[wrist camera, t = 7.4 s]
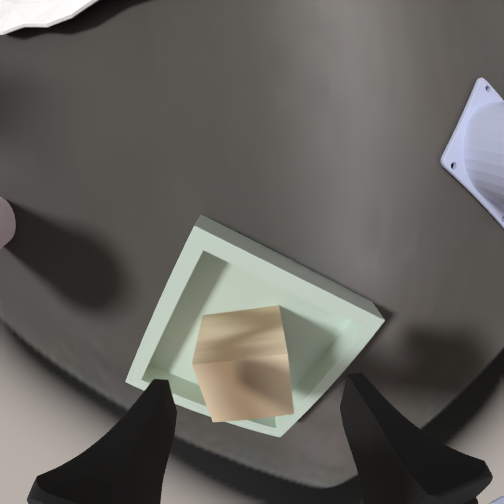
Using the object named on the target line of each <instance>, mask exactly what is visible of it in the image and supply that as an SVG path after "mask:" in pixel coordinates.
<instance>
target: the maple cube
mask: <svg viewBox="0 0 504 504" xmlns="http://www.w3.org/2000/svg"><path fill="white" fill-rule="evenodd" d="M192 366H193V369H194V372H195V375H196V378H197V381H198V384H199V386H200V389H201V392H202V395H203V397H204V400H205V403H206V405H207V408H208V411H209V413H210V416H211V419H212V421H213V422H225V421H238V420H250V419H259V418H268V417H276V416H284V415H291V414H294V408H293V398H292V389H291V379H290V370H289V361H288V352H287V347H286V341H285V336H284V330H283V325H282V319H281V314H280V308H279V305H276V306H269V307H262V308H255V309H247V310H240V311H232V312H224V313H216V314H207V315H202V320H201V324H200V329H199V333H198V338H197V342H196V347H195V352H194V356H193V361H192Z"/></svg>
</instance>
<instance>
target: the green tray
mask: <svg viewBox="0 0 504 504" xmlns="http://www.w3.org/2000/svg"><path fill="white" fill-rule="evenodd" d="M276 305H279V308H280V314H281V319H282V325H283V330H284V336H285V341H286V347H287V352H288V361H289V370H290V379H291V389H292V398H293V408H294V414H291V415H284V416H276V417H268V418H259V419H250V420H238V421H225V422H228V423H231V424H234V425H237V426H241V427H244V428H247V429H251V430H254V431H258V432H261V433H265V434H269V435H272V436H276V437H281V436H282V435H283V434H284V433H285V432H286V431H287V430H288V429H289V428H290V427H291V426H292V425H293V424H295V423H296V422H297V421H298V420H299V419H300V418H301V417H302V416H303V415H304V414H305V413H306V411H307V410H308V409H309V408H310V407H311V406H312V405H313V404H314V403H315V402H316V401H317V400H318V399H319V398H320V397H321V396H322V395H323V394H324V393H325V392H326V390H327V389H328V388H329V387H330V386H331V385H332V384H333V383H334V382H335V381H336V379H337V378H338V377H339V376H340V375H341V374H342V373H343V371H344V370H345V369H346V368H347V367H348V366H349V365H350V363H351V362H352V361H353V360H354V359H355V357H356V356H357V355H358V354H359V353H360V351H361V350H362V349H363V348H364V347H365V345H366V344H367V343H368V342H369V340H370V339H371V338H372V337H373V335H374V334H375V333H376V331H377V330H378V329H379V328H380V326H381V325H382V324H383V322H384V321H385V320H384V318H383V317H382V315H381V314H380V312H379V311H378V309H377V308H376V307H375V305H374V304H373V302H372V301H370V300H368V299H366V298H364V297H362V296H360V295H358V294H356V293H354V292H353V291H351V290H349V289H347V288H345V287H343V286H341V285H339V284H337V283H335V282H333V281H331V280H329V279H327V278H326V277H324V276H322V275H320V274H318V273H316V272H314V271H312V270H310V269H308V268H306V267H304V266H302V265H300V264H298V263H296V262H294V261H292V260H291V259H289V258H287V257H285V256H283V255H281V254H279V253H277V252H275V251H273V250H271V249H269V248H267V247H265V246H263V245H261V244H259V243H257V242H255V241H253V240H251V239H249V238H247V237H245V236H243V235H241V234H239V233H238V232H236V231H234V230H232V229H230V228H228V227H226V226H224V225H222V224H220V223H218V222H216V221H214V220H212V219H210V218H208V217H206V216H204V215H202V214H201V215H200V217H199V219H198V220H197V222H196V224H195V225H194V228H193V230H192V232H191V234H190V236H189V238H188V240H187V242H186V244H185V246H184V248H183V250H182V252H181V254H180V257H179V259H178V261H177V263H176V265H175V267H174V269H173V272H172V274H171V276H170V278H169V280H168V282H167V285H166V287H165V289H164V291H163V293H162V296H161V298H160V300H159V302H158V305H157V307H156V309H155V312H154V314H153V316H152V318H151V321H150V323H149V325H148V328H147V330H146V332H145V335H144V337H143V340H142V342H141V344H140V347H139V349H138V352H137V354H136V356H135V359H134V361H133V364H132V366H131V369H130V371H129V374H128V376H127V379H126V381H125V382H127V383H129V384H131V385H133V386H135V387H137V388H140V389H142V390H144V391H145V389H146V388H147V387H148V386H149V384H150V383H151V382H152V380H154V379H164V380H169V384H170V388H171V392H172V396H173V399H174V403H175V404H177V405H180V406H183V407H185V408H188V409H190V410H193V411H196V412H199V413H201V414H204V415H207V416H210V413H209V411H208V408H207V405H206V403H205V400H204V397H203V395H202V392H201V389H200V386H199V384H198V381H197V378H196V375H195V372H194V369H193V366H192V361H193V356H194V352H195V347H196V342H197V338H198V333H199V329H200V324H201V320H202V315H207V314H216V313H224V312H232V311H240V310H247V309H255V308H262V307H269V306H276ZM210 417H211V416H210Z"/></svg>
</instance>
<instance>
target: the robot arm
mask: <svg viewBox="0 0 504 504" xmlns="http://www.w3.org/2000/svg"><path fill="white" fill-rule="evenodd" d="M486 88H487V91H486ZM452 163H453V168H451V164H452ZM441 165H442V166H443V168H445V169H446V170H447V171H448V172H449V173H450V174H451V175H452V176H453V177H454V178H455V179H456V180H457V181H459V182H460V183H461V184H462V185H463V186H464V187H465V188H466V189H467V190H468V191H469V192H470V193H471V194H472V195H473V196H474V197H475V198H476V199H477V200H478V201H479V202H480V203H481V204H482V206H483V207H484V208H485V209H486V210H487V211H488V212H489V213H490V214H491V215H492V216H493V217H494V218H495V220H496V221H497V222H498V223H499V224H500V225H501V226H502V228H503V229H504V101H503V99H502V98H501V97H500V96H499V95H498V94H497V92H496V91H495V90H494V89H493V88H492V87H491V85H490V84H489V83H488V82H487V81H486V80H485V79H484V78H478V79H477V81H476V83H475V85H474V88H473V90H472V93H471V95H470V97H469V100H468V102H467V104H466V107H465V109H464V111H463V113H462V116H461V118H460V120H459V122H458V124H457V126H456V129H455V131H454V133H453V135H452V137H451V139H450V141H449V143H448V145H447V147H446V149H445V151H444V153H443V155H442V157H441ZM502 217H503V219H502ZM340 410H341V416H342V421H343V426H344V430H345V433H346V436H347V440H348V443H349V446H350V449H351V452H352V455H353V458H354V461H355V464H356V467H357V471H358V475H359V478H360V484H361V490H362V495H363V503H364V504H478V500H477V498H476V496H477V495H479V494H480V493H481V492H482V491H483V490H484V489H485V488H486V487H487V486H488V485H489V484H490V482H491V481H492V478H493V476H492V474H491V472H490V470H489V468H488V466H487V465H486V463H485V461H483V460H480V459H477V458H474V457H471V456H469V455H465V454H463V453H461V452H459V451H456V450H454V449H452V448H450V447H448V446H446V445H444V444H442V443H441V442H439V441H437V440H436V439H434V438H432V437H431V436H429V435H427V434H426V433H425V432H423V431H422V430H420V429H419V428H418V427H416V426H415V425H414V424H412V423H411V422H410V421H409V420H408V419H406V418H405V417H404V416H403V415H402V414H401V413H400V412H399V411H397V410H396V409H395V408H394V407H393V406H392V405H391V404H390V403H389V402H388V401H387V400H386V399H385V398H384V397H383V396H382V395H381V394H380V392H379V391H378V390H377V389H376V388H375V387H374V386H373V385H372V384H371V383H370V382H369V380H368V379H367V378H366V377H365V376H364V375H363V374H362V373H357V374H349V375H347V379H346V384H345V388H344V392H343V397H342V401H341V405H340ZM176 416H177V410H176V407H175V403H174V399H173V396H172V392H171V388H170V384H169V380H164V379H154V380H152V382H151V383H150V384H149V386H148V387H147V388H146V389H145V391H144V392H143V393H142V395H141V396H140V397H139V398H138V400H137V401H136V402H135V403H134V405H133V406H132V407H131V408H130V409H129V410H128V412H127V413H126V414H125V415H124V416H123V417H122V418H121V419H120V420H119V421H118V422H117V424H116V425H115V426H114V427H113V428H112V429H111V430H110V431H109V432H107V434H105V435H104V436H103V437H102V438H101V439H100V440H99V441H97V442H96V443H95V444H94V445H92V446H91V447H90V448H88V449H87V450H86V451H84V452H83V453H81V454H80V455H78V456H77V457H75V458H73V459H72V460H70V461H68V462H67V463H65V464H63V465H62V466H59V467H57V468H56V469H53V470H51V471H48V472H46V473H44V474H41V475H39V476H37V478H36V480H35V482H34V484H33V486H32V488H31V491H30V493H29V495H28V498H27V502H28V503H29V504H160V500H161V491H162V483H163V477H164V473H165V469H166V465H167V461H168V457H169V453H170V449H171V444H172V441H173V437H174V433H175V425H176ZM489 504H504V496H501V497H500V498H498V499H496V500H494V501H492V502H491V503H489Z"/></svg>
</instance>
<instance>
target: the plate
mask: <svg viewBox="0 0 504 504" xmlns="http://www.w3.org/2000/svg"><path fill="white" fill-rule="evenodd" d="M98 1H100V0H0V35H6V34H8V33H11V32H14V31H17V30H19V29H22V28H25V27H44V28H49V27H52V26H54V25H57V24H60V23H62V22H65V21H68V20H70V19H73V18H75V17H76V16H78V15H79V14H80V13H82V12H83V11H85V10H86V9H88V8H89V7H91V6H92V5H94V4H95V3H97V2H98Z"/></svg>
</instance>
